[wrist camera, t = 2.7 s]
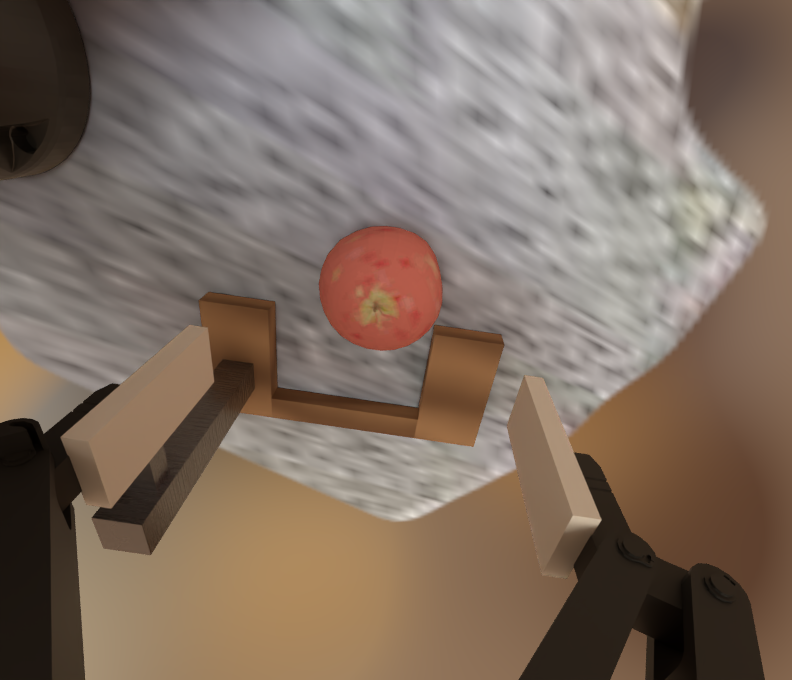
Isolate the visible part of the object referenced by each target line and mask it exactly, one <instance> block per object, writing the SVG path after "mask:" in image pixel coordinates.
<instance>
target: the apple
mask: <svg viewBox="0 0 792 680" xmlns="http://www.w3.org/2000/svg"><path fill="white" fill-rule="evenodd" d="M319 291H320V300H321V303H322V306H323V310H324V313H325V315H326V316H327V318H328V320H329V322H330V324H331V325H332V326H333V327H334V328H335V330H336V331H337V332H338V333H339V334H340V335H341V336H342V337H344V338H345V339H347V340H349V341H350V342H352V343H353V344H356V345H359V346H361V347H364V348H367V349H374V350H380V351H382V350H395V349H398V348H402V347H405V346H408V345H409V344H411V343H413V342H415V341H417V340H418V339H420V338H421V337H422V336H423V335H424V334H425V333H426V332H428V331H429V330H430V328H431V327H432V325H433V324H434V322H435V320H436V319H437V317H438V315H439V312H440V308H441V305H442V282H441V275H440V270H439V266H438V263H437V259H436V256H435V254H434V253H433V251H432V249H431V248H430V246H429V245H428V243H427V242H426V241H425V240H423V239H422V238H420V237H419V236H418V235H416V234H415V233H412V232H410V231H407V230H404V229H401V228H396V227H389V226H376V227H369V228H365V229H362V230H358V231H356V232H354V233H352V234H350V235H348V236H346V237H345V238H343V239H341V240H340V241H339V242H338V243H337V244H336V246H335V247H334V248H333V249H332V250H331V251H330V252H329V254H328V255H327V258H326V260H325V262H324V264H323V267H322V270H321V275H320V280H319Z"/></svg>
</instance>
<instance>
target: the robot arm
mask: <svg viewBox="0 0 792 680" xmlns="http://www.w3.org/2000/svg"><path fill="white" fill-rule="evenodd" d="M89 89H90V88H89V74H88V66H87V60H86V55H85V50H84V46H83V42H82V39H81V35H80V32H79V29H78V26H77V23H76V21H75V18H74V15H73V13H72V10H71V8H70V5H69V3H68V1H67V0H0V180H6V179H13V178H19V177H25V176H31V175H36V174H39V173H42V172H45V171H48V170H50V169H52V168H54V167H55V166H57V165H58V164H60V163H61V162H62V161H63V160H65V159H66V158H67V157H68V156H69V154H70V153H71V152H72V151H73V149H74V148H75V146H76V145H77V143H78V141H79V139H80V137H81V135H82V133H83V130H84V127H85V124H86V120H87V115H88V109H89ZM213 383H214V376H213V367H212V359H211V350H210V342H209V333H208V328H207V327H200V326H194V325H189V326H188V327H186V328H185V329H184V330H183V331H182V332H181V333H180V334H178V335H177V336H176V337H175V338H174V339H173V340H172V341H170V342H169V343H168V344H167V345H166V346H165V347H163V348H162V349H161V350H160V351H159V352H158V353H157V354H155V355H154V356H153V357H152V358H151V359H150V360H149V361H147V362H146V363H145V364H144V365H143V366H142V367H140V368H139V369H138V370H137V371H136V372H135V373H134V374H132V375H131V376H130V377H129V378H128V379H127V380H126V381H124V382H123V383H122V384H121V385H119V384H113V383H112V384H110V385H108V386H106V387H104V388H101V389H99V390H97V391H95V392H94V393H93V394H92V395H91V396H89V397H88V398H87V399H86V400H84V401H83V404H80V405H78V406H77V407H76V408H75V409H74V410H73V412H70V413H69V414H68V415H66V416H65V417H64V418H63V419H61V420H60V421H59V422H58V423H57V424H55V425H54V426H53V427H52V428H51V429H49V430H48V431H47V432H46V433H44V434H43V431H42V429H41V427H40V424H39V422H38V421H35V420H33V419H27V418H20V419H13V420H8V421H5V422H2V423H0V680H85V670H84V654H83V639H82V623H81V609H80V608H81V607H80V593H79V576H78V561H77V545H76V529H75V514H74V507H73V505H72V503H71V502H72V501H73V500H74V499H75V498H76V497H77V496H78V495H79V494H80V492H82V495H83V498H84V500H85V503H86V505H92V506H98V507H104V508H110V509H111V508H112V507H113V506H114V505H115V503H116V502H117V501H118V500H119V498H120V497H121V496H122V495H123V493H124V492H125V491H126V490H127V489H128V487H129V486H130V485H131V484H132V482H133V481H134V480H135V479H136V477H137V476H138V475H139V474H140V473H141V471H142V470H143V469H144V468H145V466H146V465H147V464H148V463H149V462H150V460H151V459H152V458H153V457H154V455H155V454H156V453H157V452H158V450H159V449H160V448H161V447H162V446H163V444H164V443H165V442H166V441H167V439H168V438H169V437H170V436H171V434H172V433H173V432H174V431H175V430H176V428H177V427H178V426H179V425H180V423H181V422H182V421H183V420H184V418H185V417H186V416H187V415H188V414H189V412H190V411H191V410H192V409H193V407H194V406H195V405H196V404H197V403H198V401H199V400H200V399H201V398H202V396H203V395H204V394H205V393H206V391H207V390H208V389H209V388H210V387H211V385H212V384H213ZM507 429H508V433H509V438H510V442H511V446H512V450H513V455H514V459H515V463H516V468H517V472H518V476H519V480H520V485H521V488H522V493H523V497H524V502H525V506H526V510H527V514H528V518H529V522H530V527H531V531H532V536H533V540H534V544H535V549H536V553H537V557H538V561H539V565H540V570H541V574H542V575H546V576H552V577H559V578H565V579H567V578H568V576H569V574H570V573H571V571H572V569H573V568H574V569H575V572H576V575H577V579H578V582H577V584H576V586H575V587H574V589H573V591H572V592H571V594H570V596H569V597H568V599H567V600H566V602H565V604H564V606H563V607H562V609H561V610H560V612H559V614H558V615H557V617H556V619H555V620H554V622H553V624H552V625H551V627H550V629H549V630H548V632H547V634H546V635H545V637H544V639H543V640H542V642H541V643H540V645H539V647H538V648H537V650H536V652H535V653H534V655H533V657H532V658H531V660H530V662H529V663H528V665H527V667H526V668H525V670H524V672H523V673H522V675H521V677H520V678H519V680H610V679H611V676H612V674H613V672H614V669H615V667H616V665H617V662H618V660H619V658H620V655H621V653H622V651H623V648H624V646H625V643H626V641H627V639H628V636H629V634H630V632H631V629H632V628H633V629H635V630H637V631H639V632H641V633H643V634H645V635H647V649H646V651H647V652H646V678H645V680H765V678H764V673H763V667H762V662H761V657H760V651H759V646H758V641H757V636H756V631H755V625H754V619H753V614H752V609H751V604H750V601H749V599H748V596H747V594H746V593H745V591H744V590H743V589H742V587H741V586H740V585H739V584H738V583H737V582H736V581H735V580H734V579H733V578H732V577H731V576H730V575H729V574H727V573H725V572H724V571H722V570H720V569H719V568H717V567H715V566H712V565H709V564H702V563H700V564H699V563H698V564H696V565H695V566H693V567H692V568H691V569H690V570H689V571H687V570H685V569H682V568H680V567H678V566H675V565H673V564H671V563H668V562H666V561H664V560H662V559H660V558H658V557H656V555H655V552H654V551H653V550H652V549H651V547H650V546H649V545H648V543H646V542H645V541H644V540H643V539H642V538H640V537H639V536H637V535H636V534H634V533H632V532H631V531H630V529H629V526H628V524H627V522H626V520H625V518H624V516H623V514H622V512H621V509H620V507H619V505H618V503H617V501H616V499H615V497H614V495H613V493H611V488H610V486H609V484H608V483H607V482H606V478H605V476H604V474H603V471H602V469H601V467H600V466H599V465H598V464H597V463H596V462H595V461H594V459H593V458H592V457H591V456H590V455H587V454H581V453H574V452H573V449H572V447H571V445H570V442H569V440H568V437H567V435H566V433H565V430H564V428H563V425H562V423H561V420H560V418H559V416H558V413H557V411H556V408H555V406H554V404H553V401H552V399H551V396H550V394H549V391H548V389H547V387H546V384H545V382H544V379H543V378H540V377H533V376H527V375H524V378H523V380H522V383H521V386H520V389H519V392H518V395H517V398H516V401H515V404H514V407H513V410H512V412H511V415H510V418H509V421H508V424H507Z"/></svg>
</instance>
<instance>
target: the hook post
mask: <svg viewBox="0 0 792 680" xmlns="http://www.w3.org/2000/svg"><path fill="white" fill-rule="evenodd" d="M213 376H214V383H213V384H212V385H211V387H210V388H209V389H208V390H207V391H206V393H205V394H204V395H203V396H202V398H201V399H200V400H199V401H198V403H197V404H196V405H195V406H194V407H193V409H192V410H191V411H190V412H189V414H188V415H187V416H186V417H185V418H184V420H183V421H182V422H181V423H180V425H179V426H178V427H177V428H176V430H175V431H174V432H173V433H172V434H171V436H170V437H169V438H168V439H167V441H166V442H165V443H164V444H163V446H162V447H161V448H160V449H159V450H158V452H157V453H156V454H155V455H154V457H153V458H152V459H151V460H150V462H149V463H148V464H147V465H146V466H145V468H144V469H143V470H142V471H141V473H140V474H139V475H138V476H137V477H136V479H135V480H134V481H133V482H132V484H131V485H130V486H129V487H128V489H127V490H126V491H125V492H124V493H123V495H122V496H121V497H120V498H119V500H118V501H117V502H116V503H115V505H114V506H113V507H112V508H111V509H110V508H104V507H100V508H99V510H98V511H97V512H96V513H95V514H94V516H93V517H92V520H93V523H94V525H95V528H96V530H97V533H98V536H99V538H100V541H101V543H102V545H103V548H105V549H112V550H118V551H125V552H132V553H139V554H146V555H151V554H152V552H153V551H154V549H155V548H156V546H157V544H158V543H159V541H160V540H161V538H162V536H163V535H164V533H165V532H166V530H167V528H168V527H169V525H170V524H171V522H172V520H173V519H174V517H175V516H176V514H177V512H178V511H179V509H180V508H181V506H182V504H183V503H184V501H185V500H186V498H187V496H188V495H189V493H190V492H191V490H192V488H193V487H194V485H195V484H196V482H197V480H198V479H199V477H200V476H201V474H202V472H203V471H204V469H205V468H206V466H207V464H208V463H209V461H210V460H211V458H212V456H213V455H214V453H215V451H216V450H217V448H218V447H219V445H220V444H221V442H222V440H223V439H224V437H225V436H226V434H227V432H228V431H229V429H230V428H231V426H232V424H233V423H234V421H235V420H236V418H237V416H238V415H239V413H240V412H241V410H242V408H243V407H244V405H245V404H246V402H247V400H248V399H249V397H250V396H251V394H252V392H253V391H254V389H255V380H254V364H253V363H246V362H239V361H232V360H226V359H222V361H221V362H220V363H219V364H218V365H217V367H216V368H215V369H214V370H213Z"/></svg>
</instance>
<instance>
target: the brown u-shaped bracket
mask: <svg viewBox="0 0 792 680" xmlns="http://www.w3.org/2000/svg"><path fill="white" fill-rule="evenodd" d="M199 307H200V315H201V322H202V327H207V328H208V333H209V342H210V350H211V359H212V367H213V370H214V369H215V368H216V367H217V365H218V364H219V363H220V362H221V361H222V359H226V360H232V361H239V362H246V363H253V364H254V380H255V389H254V391H253V392H252V394H251V396H250V397H249V399H248V400H247V402H246V404H245V405H244V407H243V408H242V410H241V412H240V413H246V414H253V415H260V416H267V417H274V418H280V419H287V420H294V421H301V422H308V423H315V424H322V425H328V426H335V427H342V428H349V429H356V430H363V431H369V432H376V433H383V434H390V435H397V436H404V437H411V438H417V439H424V440H431V441H438V442H445V443H452V444H458V445H465V446H472V447H473V446H474V443H475V440H476V436H477V433H478V430H479V427H480V423H481V420H482V417H483V413H484V410H485V407H486V404H487V400H488V397H489V394H490V390H491V387H492V384H493V380H494V377H495V374H496V371H497V367H498V364H499V361H500V357H501V354H502V351H503V348H504V342H503V339H502V336H501V335H500V334H493V333H486V332H479V331H472V330H465V329H459V328H452V327H445V326H438V325H434V330H433V336H432V341H431V346H430V351H429V356H428V361H427V366H426V371H425V376H424V381H423V386H422V392H421V397H420V402H419V407H418V408H415V407H408V406H401V405H394V404H387V403H380V402H373V401H367V400H360V399H353V398H346V397H339V396H332V395H326V394H319V393H312V392H305V391H298V390H291V389H284V388H278V387H277V355H276V320H275V302H273V301H266V300H260V299H253V298H246V297H239V296H232V295H225V294H218V293H212V292H208V293H207V294H206V295H204V296H203V297H202V298H201V299H200V300H199Z"/></svg>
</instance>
